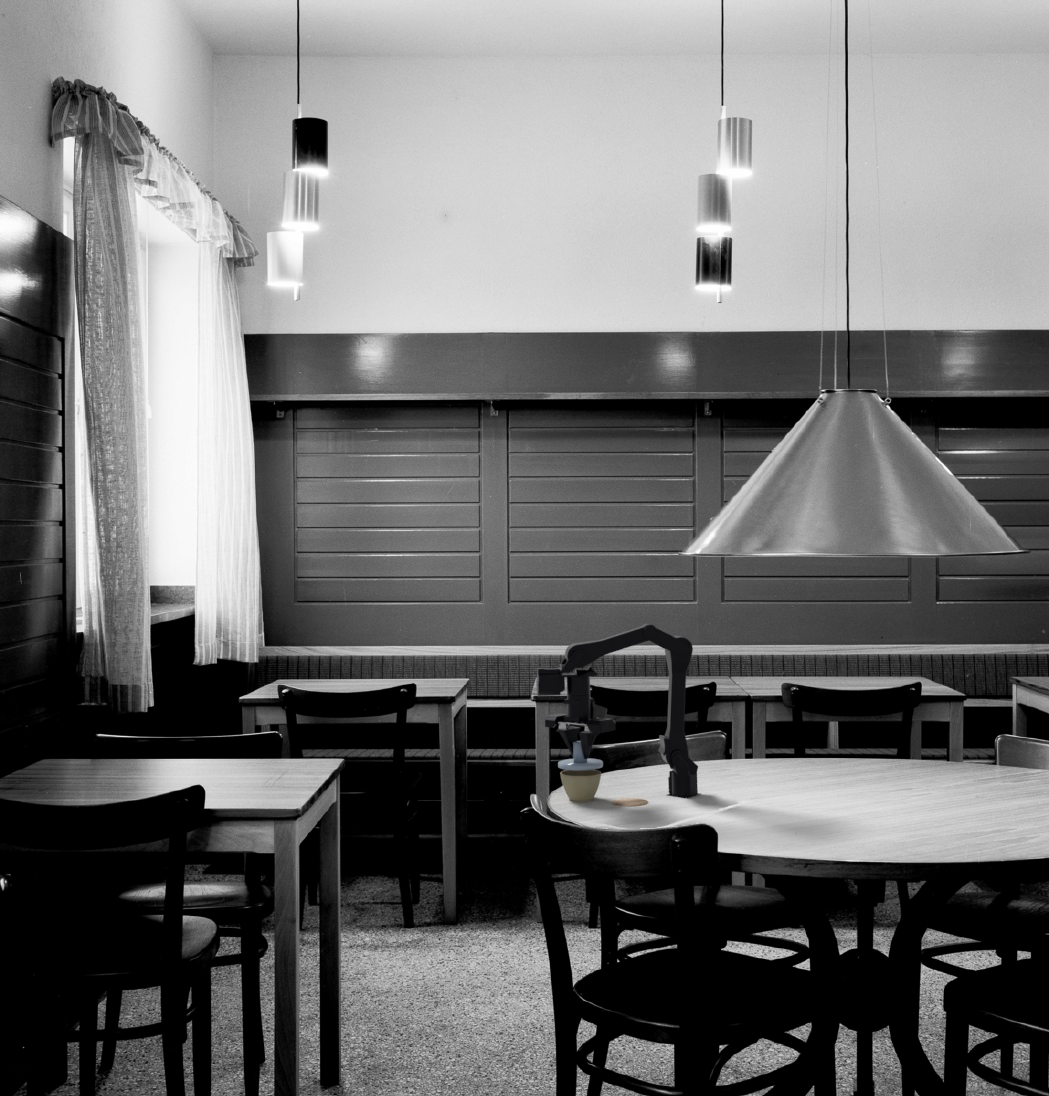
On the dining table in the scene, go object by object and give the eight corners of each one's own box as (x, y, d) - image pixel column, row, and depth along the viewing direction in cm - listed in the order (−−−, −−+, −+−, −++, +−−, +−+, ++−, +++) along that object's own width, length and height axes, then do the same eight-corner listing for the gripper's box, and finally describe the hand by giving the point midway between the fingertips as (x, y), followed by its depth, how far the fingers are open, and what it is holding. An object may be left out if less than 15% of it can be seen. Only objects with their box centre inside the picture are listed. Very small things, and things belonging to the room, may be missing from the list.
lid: (612, 765, 281) (611, 740, 281) (582, 772, 273) (581, 747, 273) (578, 760, 289) (577, 736, 289) (548, 767, 281) (548, 742, 281)
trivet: (656, 803, 276) (656, 801, 276) (632, 810, 269) (632, 807, 269) (627, 799, 282) (627, 796, 282) (603, 805, 275) (603, 802, 275)
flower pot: (586, 807, 274) (586, 777, 274) (553, 802, 280) (552, 773, 280) (609, 799, 282) (608, 770, 282) (576, 795, 288) (575, 767, 288)
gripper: (629, 693, 280) (630, 757, 280) (572, 688, 293) (573, 749, 293) (599, 698, 272) (601, 763, 272) (542, 693, 285) (544, 756, 285)
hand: (580, 758), depth 281 cm, fingers closed on lid, 3 cm apart
